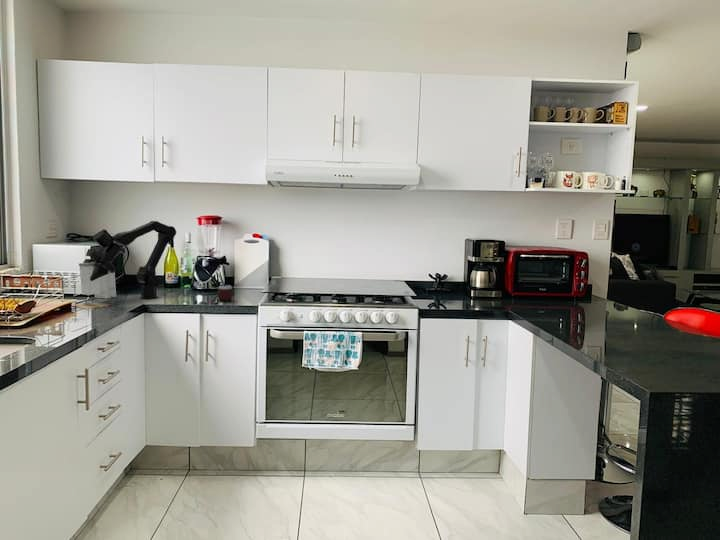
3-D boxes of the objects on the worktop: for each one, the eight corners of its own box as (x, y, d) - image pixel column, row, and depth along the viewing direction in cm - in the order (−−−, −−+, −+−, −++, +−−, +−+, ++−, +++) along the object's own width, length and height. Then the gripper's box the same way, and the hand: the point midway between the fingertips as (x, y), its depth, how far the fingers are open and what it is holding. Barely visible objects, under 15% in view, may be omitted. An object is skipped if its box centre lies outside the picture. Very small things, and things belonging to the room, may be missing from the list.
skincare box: (116, 297, 275) (115, 266, 274) (107, 299, 269) (106, 267, 267) (102, 296, 277) (101, 265, 276) (93, 298, 271) (92, 267, 269)
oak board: (96, 304, 258) (96, 302, 258) (110, 306, 251) (110, 304, 251) (71, 307, 248) (71, 305, 248) (85, 310, 241) (85, 308, 241)
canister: (93, 291, 253) (91, 262, 251) (100, 293, 250) (98, 263, 248) (81, 293, 248) (78, 263, 246) (88, 295, 245) (85, 264, 243)
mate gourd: (234, 302, 267) (234, 271, 265) (218, 303, 263) (217, 272, 262) (230, 299, 273) (230, 270, 272) (214, 300, 270) (214, 270, 268)
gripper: (86, 241, 255) (63, 266, 247) (108, 243, 244) (85, 270, 237) (103, 257, 262) (81, 282, 255) (125, 259, 252) (103, 286, 244)
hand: (87, 279), depth 247 cm, fingers closed on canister, 5 cm apart
